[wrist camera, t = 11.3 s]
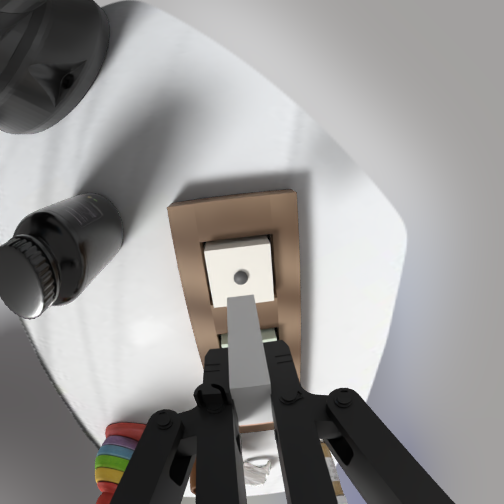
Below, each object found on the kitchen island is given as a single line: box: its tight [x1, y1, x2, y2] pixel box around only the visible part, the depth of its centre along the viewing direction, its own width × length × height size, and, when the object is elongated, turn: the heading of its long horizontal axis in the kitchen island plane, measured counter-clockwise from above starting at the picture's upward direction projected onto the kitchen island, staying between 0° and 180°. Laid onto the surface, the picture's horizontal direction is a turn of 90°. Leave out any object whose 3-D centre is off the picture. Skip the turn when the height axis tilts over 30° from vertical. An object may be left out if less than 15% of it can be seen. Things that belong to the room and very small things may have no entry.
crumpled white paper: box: [243, 461, 271, 486], centre depth 37 cm, size 8×7×5 cm
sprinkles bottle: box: [321, 443, 347, 504], centre depth 32 cm, size 5×5×14 cm
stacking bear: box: [95, 423, 146, 504], centre depth 26 cm, size 11×10×18 cm
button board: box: [167, 189, 301, 433], centre depth 27 cm, size 30×10×2 cm, turn 5°
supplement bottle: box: [0, 193, 123, 319], centre depth 17 cm, size 7×7×12 cm
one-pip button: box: [204, 235, 274, 308], centre depth 23 cm, size 5×5×3 cm
